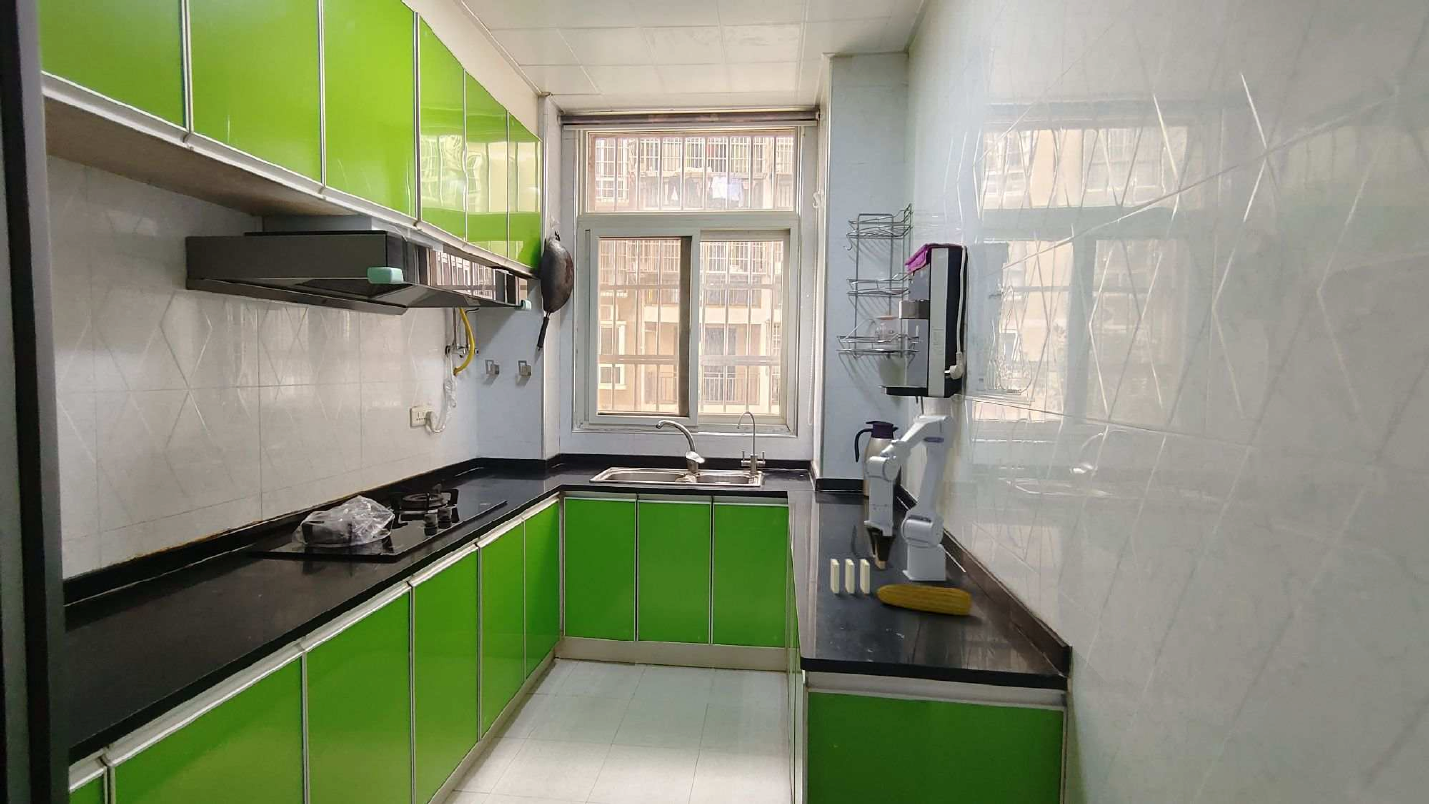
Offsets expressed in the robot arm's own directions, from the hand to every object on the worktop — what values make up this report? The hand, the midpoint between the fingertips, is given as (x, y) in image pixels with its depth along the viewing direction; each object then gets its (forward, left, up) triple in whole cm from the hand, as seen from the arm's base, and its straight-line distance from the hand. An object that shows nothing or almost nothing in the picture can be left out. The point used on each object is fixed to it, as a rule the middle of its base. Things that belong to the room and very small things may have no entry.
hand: (880, 557), depth 168 cm
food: (-7, +14, -9) cm, 18 cm away
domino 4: (0, 0, -2) cm, 2 cm away
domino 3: (+4, 0, -8) cm, 9 cm away
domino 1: (+11, 0, -8) cm, 14 cm away
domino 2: (+8, 0, -8) cm, 11 cm away
